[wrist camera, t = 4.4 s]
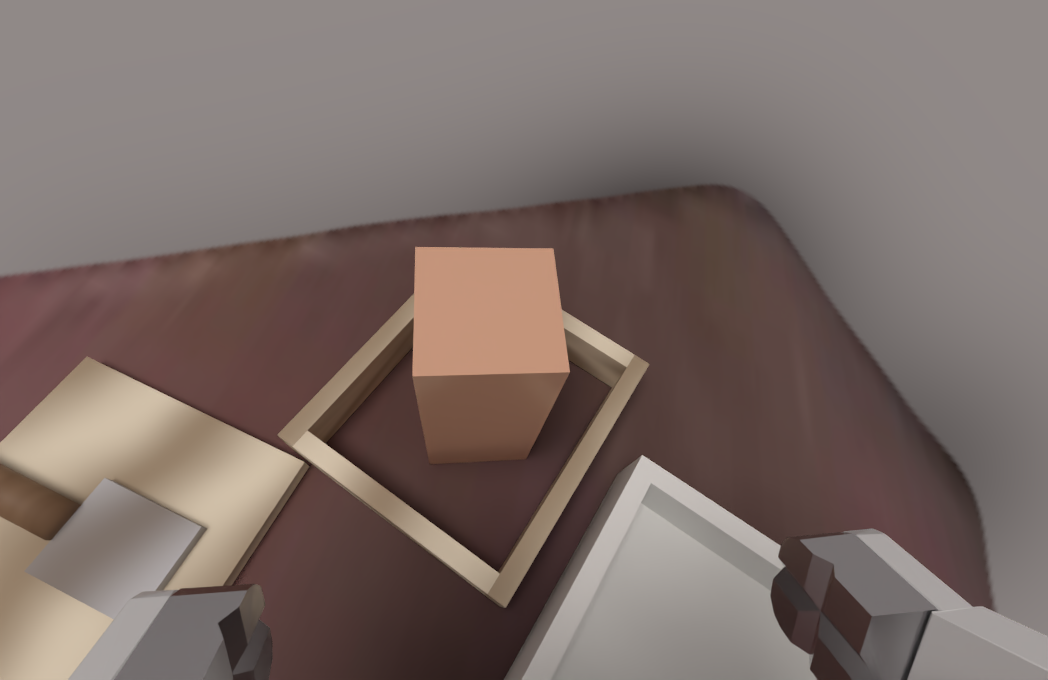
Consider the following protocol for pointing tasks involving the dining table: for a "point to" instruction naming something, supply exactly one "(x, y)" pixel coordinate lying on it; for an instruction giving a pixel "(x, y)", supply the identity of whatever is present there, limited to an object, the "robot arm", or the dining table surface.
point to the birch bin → (310, 442)
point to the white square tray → (663, 594)
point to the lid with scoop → (120, 512)
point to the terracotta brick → (486, 350)
